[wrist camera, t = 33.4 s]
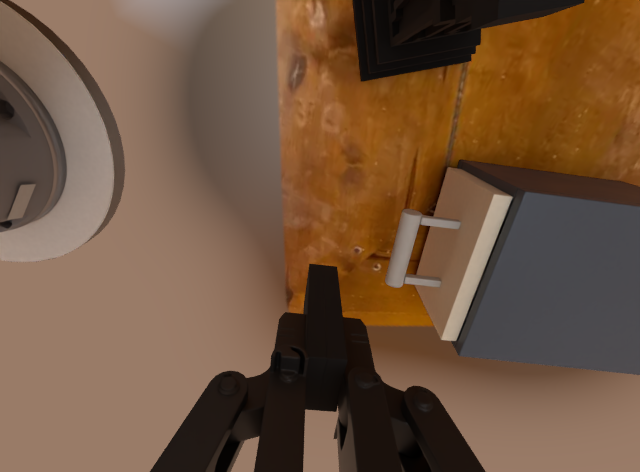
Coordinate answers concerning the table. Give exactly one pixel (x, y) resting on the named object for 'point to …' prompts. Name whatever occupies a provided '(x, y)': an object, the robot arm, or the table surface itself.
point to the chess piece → (432, 30)
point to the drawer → (450, 248)
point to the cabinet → (559, 274)
